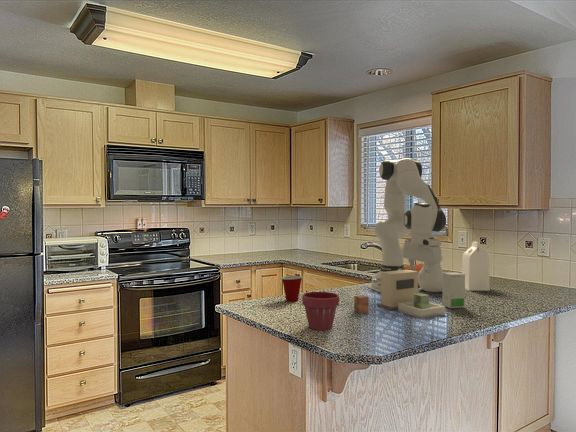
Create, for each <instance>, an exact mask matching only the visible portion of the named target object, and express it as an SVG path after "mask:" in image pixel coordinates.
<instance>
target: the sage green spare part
mask: <svg viewBox="0 0 576 432" xmlns="http://www.w3.org/2000/svg"><path fill="white" fill-rule="evenodd" d="M429 302H430V295H429V294H427V293H426V294H425V293H421V292H420V293H418V294H414V307H415V308H419V309H426V308H429Z"/></svg>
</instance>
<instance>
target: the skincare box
mask: <svg viewBox="0 0 576 432" xmlns="http://www.w3.org/2000/svg"><path fill="white" fill-rule="evenodd" d="M441 292H442V294H441V295H442V296H441V297H442V298H441V299H442V302H441V303H442V304H441V305H442V306H445V308H448V309H457V308H459V309H460V308H465V301H466V299H465V298H466V295H465V294H466V289H465V274H462V272H461V273H460V272H452V271H451V272H444V273H443V290H442V291H441Z"/></svg>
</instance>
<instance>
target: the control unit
mask: <svg viewBox="0 0 576 432" xmlns="http://www.w3.org/2000/svg"><path fill="white" fill-rule="evenodd" d="M418 288H419V286H418V271H413V270H397V271H387V272H381V292H380V302H379V303H377V304H376V306H377V307H378V308H381V309H384V310H387V311H392V312H393V311H398V303H405V302H412V301H414V294H419V293H418V292H419V289H418Z"/></svg>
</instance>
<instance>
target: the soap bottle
mask: <svg viewBox="0 0 576 432" xmlns="http://www.w3.org/2000/svg"><path fill="white" fill-rule="evenodd" d="M434 237H435V236H434ZM435 238H437V237H435ZM442 261H443V255H442V254H441V262H442ZM441 262H440V263H439V264H434V265H433V267H432V269H431V273H426V269H427V268H428V266H429V265H428V263H427V262H423V264H424V265H423V267H422V269H421V270H420V271H419V273H418V284H419V286H418V287H419V288H420V289H421V290H423V291H425V292H427V293H441V292H442V291H443V273H445V272H444V270H443V268H442V266H441Z"/></svg>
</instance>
